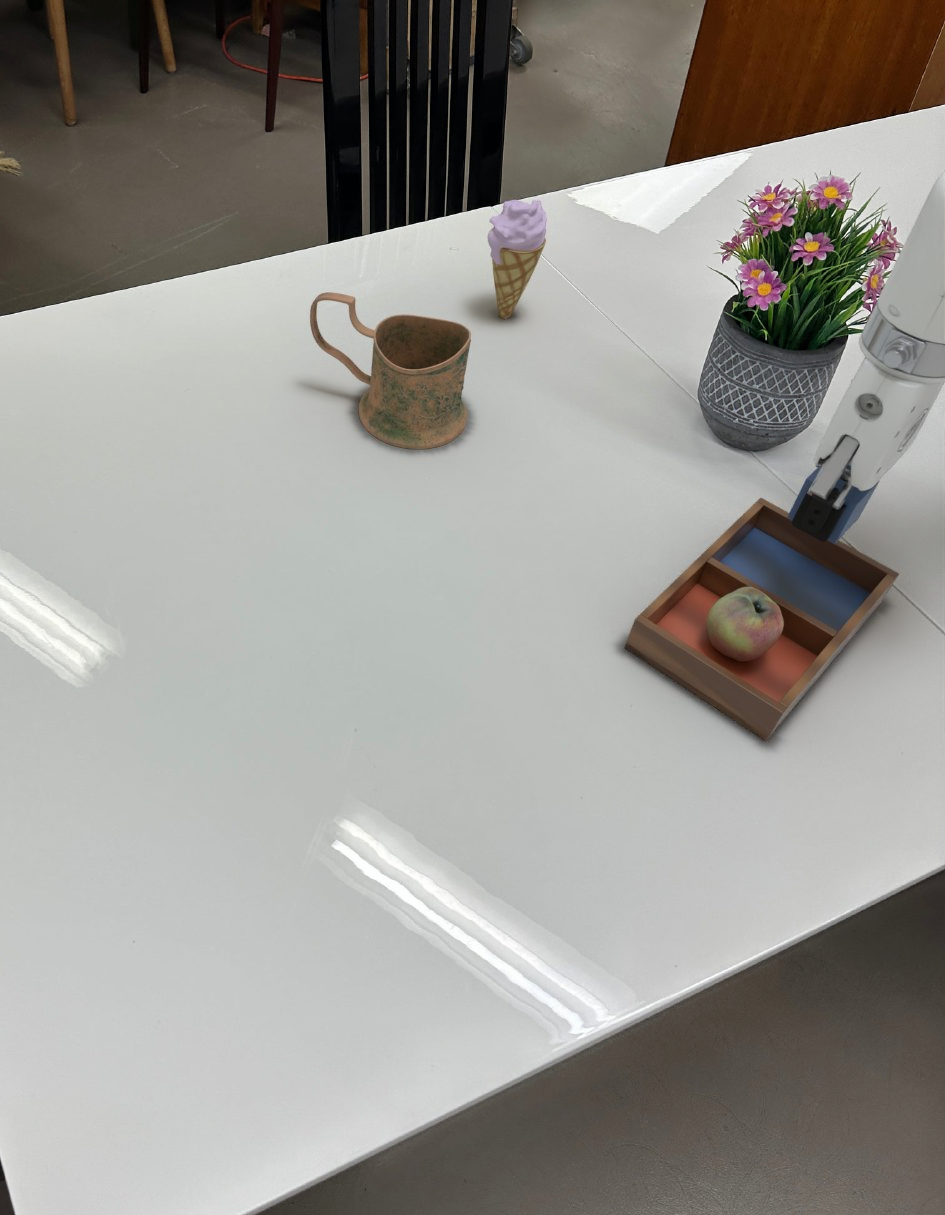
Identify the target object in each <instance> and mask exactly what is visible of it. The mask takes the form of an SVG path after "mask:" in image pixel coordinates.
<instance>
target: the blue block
mask: <svg viewBox="0 0 945 1215" xmlns="http://www.w3.org/2000/svg"><path fill="white" fill-rule="evenodd" d="M821 467H822V466H819V467H816V469H815V470H813V471H812V472H811V474H809V475H808V476H807V478H805V480H804V482H803V484H802V486H801V488H800V490H799V493H798V495H797V496H796V498H795V500H794V502H793V504H792V506H791V508H790V510H789V512H788V513H789V514H788V516H787V518H789V519H790V520H793V518H794V516H795V514H796V512H797V510H798V508H799V506H800V504H801V502H802V500H803V498H804V496H805V494H806V492H807V490H808V489H809V488H810V486H811V485H812V483H813V481H814V479H815V478H816V476H817V474H818V472H819V471H820V469H821ZM847 469H849V470H851V466H849V465H848V466H847ZM880 482H881V479H880V480H879V481H878V482H877V483H876V484H875V485H874V486H873V487H872V488H870V489H868V490H864V491H860V490H859V488H856V487H853V488H852V490H851V492H850V493H849V495H848V497H847V498H846V500H845V502H844V503H843V504H844V505H846V508H845V510H844V512H843V513H842V515H841V517H840V519H839V521H838V523H837V524H836V526H835V528H834V530H833V532H832V534H831V535H830V537H829V538H828V539H827V540H828V541H830V542H832V543H833V544H836V543H837V542H838V540H839V541H840V539H842V537H843V536H844V535H845V534H846V533H847V532H849V530H850V529H851V528H852V527H853V526H854V525H855V523H856V522H857V521H858V520H859V519H860V517H861V515H862V513H863V512H864V510H865V509H866V506H867V504H868V503H869V501H870V500H871V497H872V496H873V494H874V492H875V490H876V489H877V487H878V485H879V483H880ZM845 483H846V482H845V481H843V480H842V479H840V478H839V480H838V481H837V483H836V484H835V487H836V488H838V489H839V492H840V491H841V490H842V488H843V486H844V485H845Z"/></svg>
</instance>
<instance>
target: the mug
mask: <svg viewBox="0 0 945 1215" xmlns="http://www.w3.org/2000/svg"><path fill="white" fill-rule="evenodd" d="M322 301H328V302H329V301H331V302H336V303H341V304H346V305H347V306H348V316H349V320H350V323H351V326H352V327H353V329H355V330H356V332H358V333H359V334H360V335H363V336H365V337H366V338H371V339H373V345H372V357H371V371H370V374H367V373H365V372H364V371H362V370H361V369H360V368H359V367H358V365H357V364H356V363H355V362H354V361H353V360H352V359H351V358H350V357H349V356H348V355H346V354H345V353H344V352H343V351H341V350H339V349H338V348H336V347H335V346H333V345H332V344H330V343H329V342H328V341H326V340H325V338H324V337H323V336H322V334H321V331H320V329H319V324H318V319H317V318H318V317H317V316H318V315H317V314H318V312H317V311H318V310H317V309H318V304H319V303H320V302H322ZM309 324H310V330H311V334H312V337H313V339H314V342H315V343H316V344H317V346H318V347H319V348H320V349H321V351H324V352H325V353H326V354H327V355H329V356H331V357H333V358H335V359H336V360H338V361H339V362H340V363H342V364H343V365H344V366H345V367H346V368H347V370H348V371H350V373H351V374H352V375H353V376H354V377H355V378H356V379H357V380H358V381H360V382H361V383H364V384H366V385H369V389H367V390H366V391H365V392H364V394H362V396H361V398H360V401H359V402H358V416H359V420H360V422H361V424H362V426H363V427H364V429H365V430H366V431H367V432H368V433H369V434H370V435H372V436H373V437H374V438H375V439H377V440H379V441H381V442H384V443H385V444H388V445H391V446H394V447H397V448H401V449H410V450H427V449H435V448H438V447H441V446H445V445H446V444H449V443H451V442H452V441H454V440H455V439H456V438H458V437H459V436H460V435H461V434H462V433H463V431H464V430H465V428H466V424H467V420H468V412H467V410H468V409H467V407H466V404H465V402H464V401H463V400H462V396H463V390H464V388H465V387H464V385H465V375H466V372H467V371H466V370H467V365H468V358H469V354H470V353H469V352H470V346H471V342H472V339H471V338H472V332H471V331H470V329H469V328H468V327H467V326H466V325H463V324H461V323H459V322H457V321H452V320H447V319H443V318H435V317H429V316H424V315H423V316H422V315H415V314H395V315H391V316H388V317H386V318H383V319H382V320H381V321H380V322H378V324H377V325H376V327H375V329H372V328H370V327H367V326H366V325H364V324H363V323H362V322H361V321H360V320H359V317H358V315H357V310H356V297H355V296H352V295H349V294H344V293H339V292H331V291H330V292H322V293H320V294H318V295H317V296H316V297H315V298H314V300H313V301H312V303H311V306H310V312H309Z"/></svg>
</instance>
